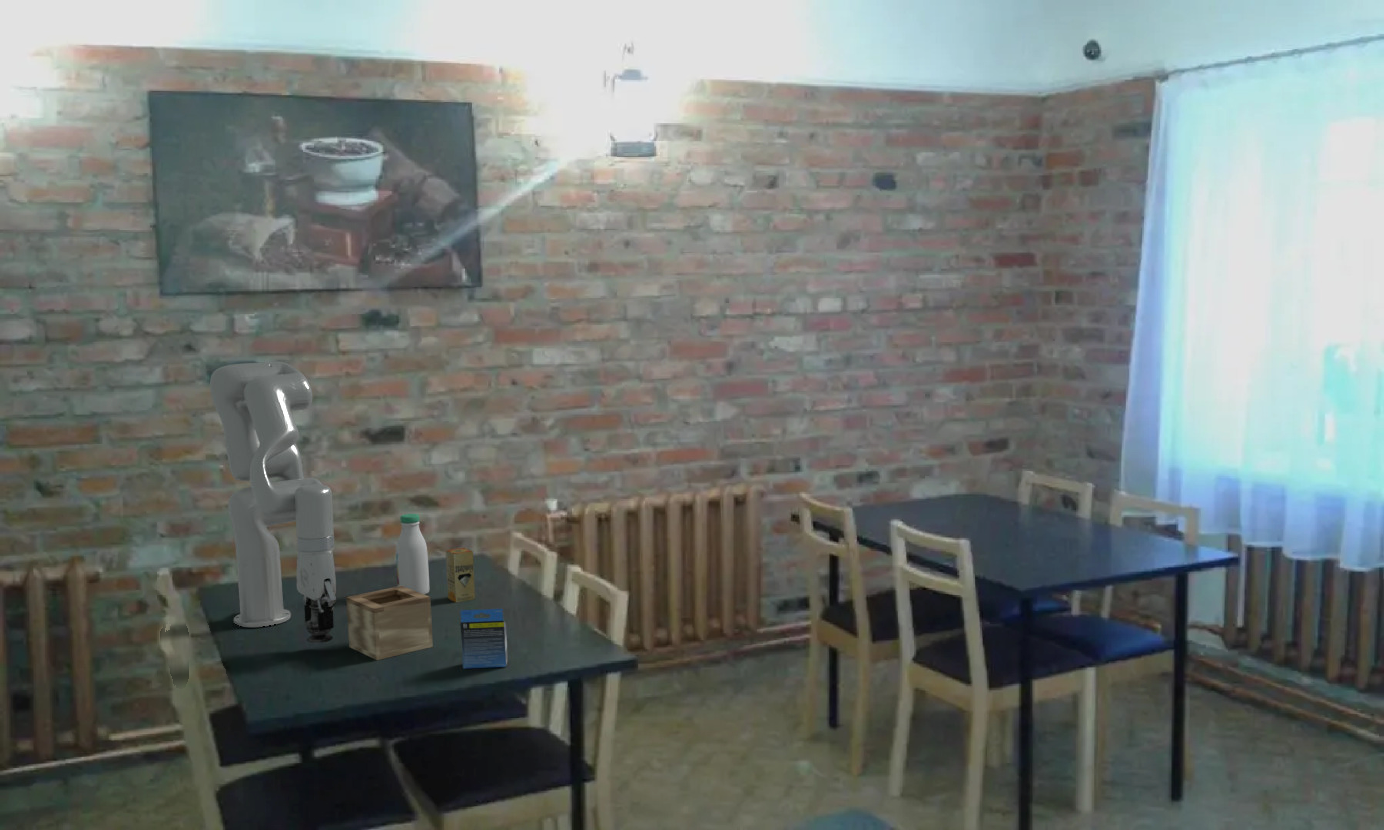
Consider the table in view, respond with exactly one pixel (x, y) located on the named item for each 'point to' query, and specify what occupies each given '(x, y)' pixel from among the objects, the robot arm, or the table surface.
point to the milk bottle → (412, 556)
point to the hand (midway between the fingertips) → (319, 624)
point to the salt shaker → (316, 625)
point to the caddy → (389, 622)
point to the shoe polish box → (460, 575)
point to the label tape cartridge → (483, 639)
